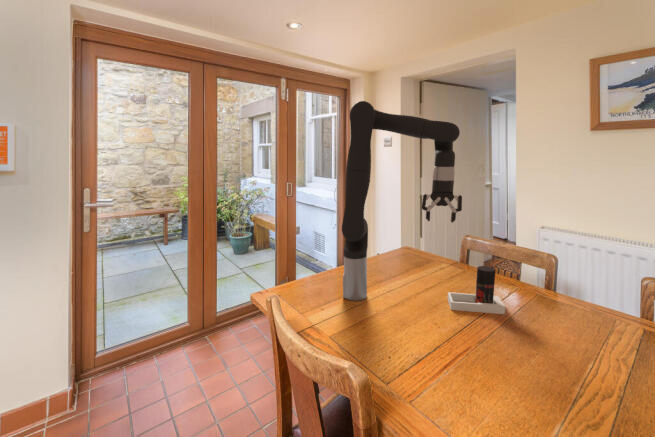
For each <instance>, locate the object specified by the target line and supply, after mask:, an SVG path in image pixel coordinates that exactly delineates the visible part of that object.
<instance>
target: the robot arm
mask: <svg viewBox="0 0 655 437" xmlns="http://www.w3.org/2000/svg"><path fill="white" fill-rule="evenodd" d="M349 121H350V122H349V123H350V142H349V148H348V153H347V160H346V166H345V169H346V170H345V189H344V191H345V194H344V195H345V196H344V197H345V198H344V200H345V202H344V204H345V205H344V210H343V211H344V212H343V217H342V224H341V233H342V236H343V237H344V239H345V240H344V242H345V243H344V248H343V275H342V298H343V299H347V300H349V301H353V302H354V301H355V302H357V301H363V300H365V299H366V298H367V296H368V295H367V294H368V285H367V284H368V273H367V272H368V267H367V266H368V256H367V255H368V245H369V225H368V221H367V220H366V218H365V204H366V200H367V197H368V191H369V188H370V182H371V174H372V173H371V172H372V149H371V148H372V147H371V146H372V145H371V144H372V135H373V130H378V131H386V132H391V133H396V134H398V135H399V134H400V135H403V136H407V137H410V138H411V137H412V138H417V139H422V140H423V139H424V140H425V139H426V140H429V139H430V140H433V142H434V153H435V154H434V155H435V156H434V166H433V170H432V171H433V172H432V183H431V184H432V185H431V188H432V190H431V194H426V193H423V194H422V202H421V210H423V211H425V219H426V220H427V222H430V221H431V210H432V209H433V208H434V207H435V206H437V207H440V206H442V207H447V206H448V207H449V209H450V210H451V212H450V213H451V214H450V222H451V223H454V222H455V221H456V220H457V219H456V218H457V217H456V216H457V213H458V212H462V210H463V208H462V207H463V196H462V195H461V194H454V188H455V187H454V185H455V173H456V172H455V164H456V162H455V161H456V153H455V151H454V150H453V149H454V142H455V141H456V140H458V139H459V136H460V128H459V127H458V125H457V124H455V123H453V122H449V121H443V120H431V119H427V118H423V117H418V116H413V115H406V114H393V113H387V112H382V111H380V110H377V109H375V108H374V106H373V105H372V104H371V103H370V102H368V101H365V100H360V101H357V102H356V103H355V104H354V105H353V106H352V107H351V108H350V110H349ZM429 199H431V200H432V201H431V202H430V204H429V205H428V206H426V204H427V201H429ZM454 199H455V201H456V204H457V207H456V208H455V206H454V205H453V203H452V202H453V200H454Z"/></svg>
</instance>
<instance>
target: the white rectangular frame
mask: <svg viewBox="0 0 655 437" xmlns="http://www.w3.org/2000/svg"><path fill="white" fill-rule="evenodd" d="M475 296H476V293H462V292H451V291H450V292H447V301H448V305H449V309H450V310H451V311H461V312H471V313H472V312H473V313H484V314H485V313H486V314H498V315H505V314H506V305H505V303H504V302H503V301H502V299H501V297H500V295H494V297H493V304H490V303H475Z"/></svg>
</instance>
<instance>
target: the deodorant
mask: <svg viewBox="0 0 655 437" xmlns="http://www.w3.org/2000/svg"><path fill="white" fill-rule="evenodd" d="M495 280H496V268H494V267H492V266H487V265H479V266H477V270H476V284H475V294H476V296H475V303H490V304H493V297H494V296H495V295H494V294H495V282H496V281H495Z"/></svg>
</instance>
